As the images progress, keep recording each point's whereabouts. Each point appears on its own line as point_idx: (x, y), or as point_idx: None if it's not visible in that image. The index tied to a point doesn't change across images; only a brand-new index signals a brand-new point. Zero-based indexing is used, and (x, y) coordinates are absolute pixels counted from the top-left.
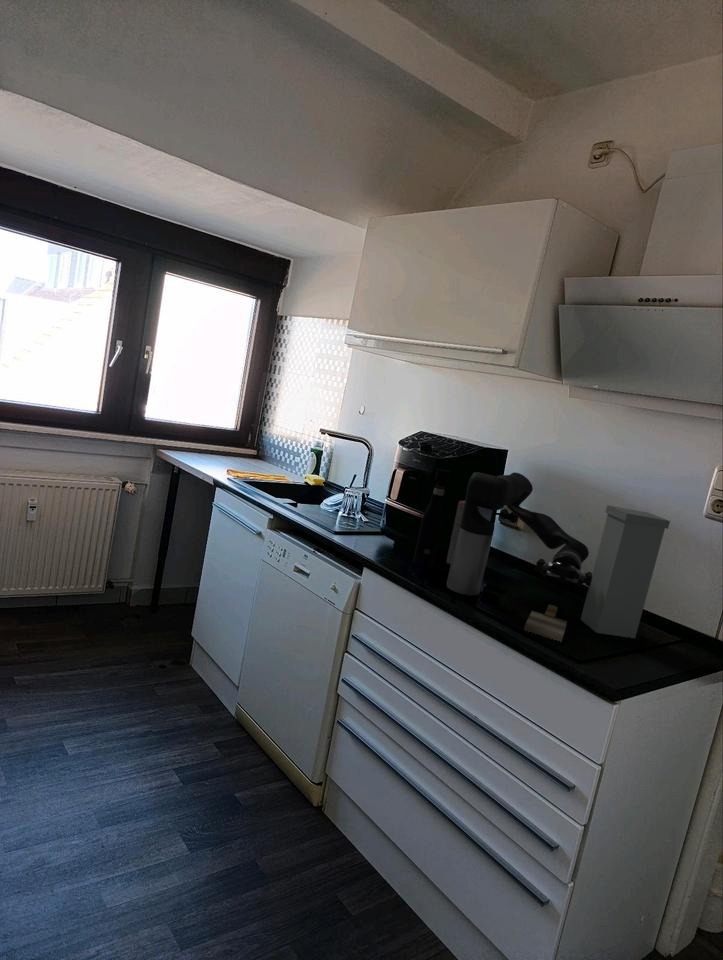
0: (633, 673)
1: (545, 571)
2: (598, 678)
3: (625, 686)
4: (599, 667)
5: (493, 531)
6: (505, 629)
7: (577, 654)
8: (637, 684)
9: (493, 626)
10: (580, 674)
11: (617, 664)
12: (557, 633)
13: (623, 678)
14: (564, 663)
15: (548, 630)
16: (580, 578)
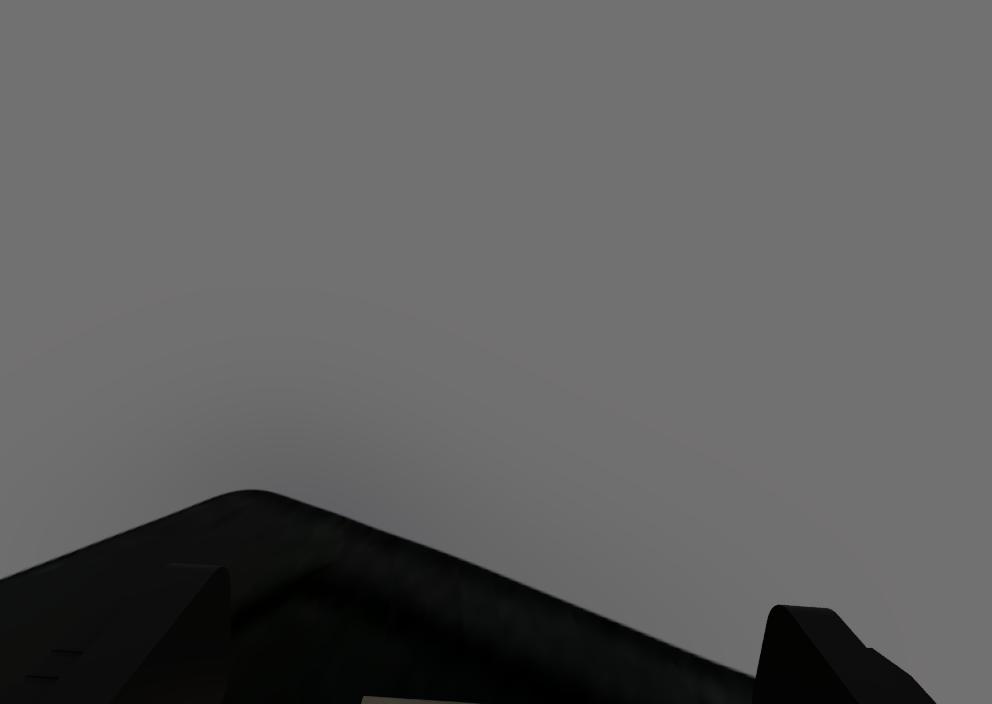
0: (29, 613)
1: (778, 634)
2: (270, 516)
3: (178, 514)
4: None
5: None
6: (683, 693)
7: (293, 642)
8: (101, 541)
9: (743, 687)
10: (333, 512)
11: None
12: (400, 700)
13: (143, 553)
14: (379, 544)
15: (460, 702)
16: (186, 566)
